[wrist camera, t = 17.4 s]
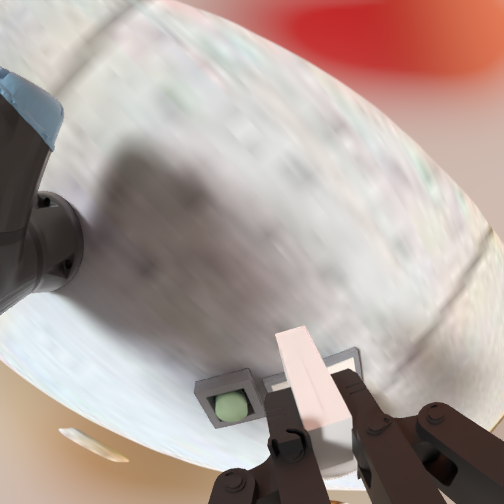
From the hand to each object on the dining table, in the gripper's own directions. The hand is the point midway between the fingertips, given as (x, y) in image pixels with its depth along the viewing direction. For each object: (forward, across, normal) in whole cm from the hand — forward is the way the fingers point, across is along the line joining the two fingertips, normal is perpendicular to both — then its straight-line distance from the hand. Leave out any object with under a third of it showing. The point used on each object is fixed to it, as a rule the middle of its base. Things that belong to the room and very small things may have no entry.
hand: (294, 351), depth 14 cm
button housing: (+27, -10, -24) cm, 37 cm away
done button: (+26, -10, -24) cm, 36 cm away
